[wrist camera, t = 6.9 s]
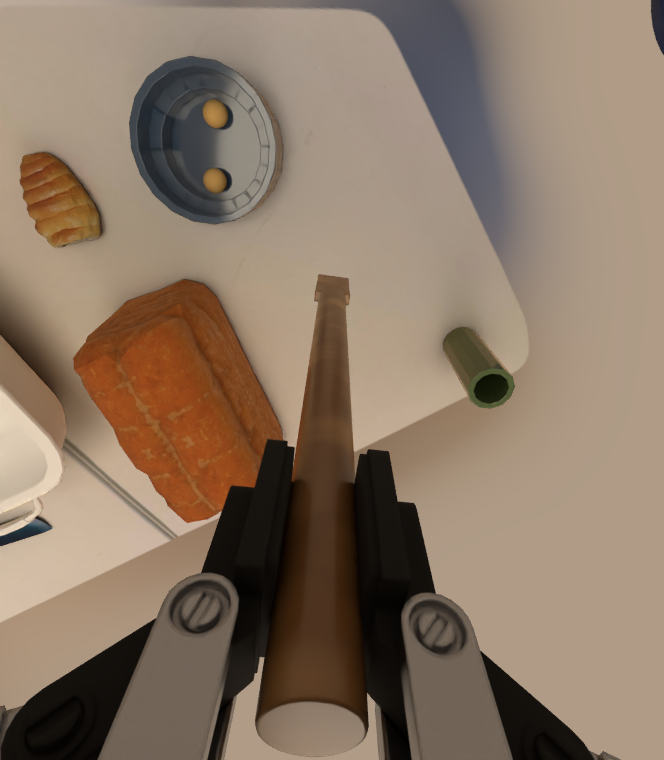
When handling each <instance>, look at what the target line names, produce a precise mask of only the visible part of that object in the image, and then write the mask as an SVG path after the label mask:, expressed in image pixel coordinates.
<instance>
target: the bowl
mask: <svg viewBox="0 0 664 760" xmlns="http://www.w3.org/2000/svg"><path fill="white" fill-rule="evenodd" d="M211 99H216V100H219V101H221V102H222V103H223V104H224V105H225V107H226V108H227V111H228V120H227V123H226V124H225V125H224V126H223V127H221V128H213V127H211V126H210V125H208V124H207V122H206V121H205V119H204V117H203V107H204V105H205V103H206V102H207V101H209V100H211ZM129 126H130V139H131V149H132V152H133V155H134V158H135V161H136V164H137V167H138V169H139V172H140V175H141V176H142V178H143V179H144V181H145V182H146V184H147V185H148V187H149V188H150V190H151V191H152V193H153V194H154V195H155V196H156V197H157V198H158V199H159V200H160V201H161V202H162V203H163V204H165V205H166V206H167V207H168V208H169V209H170V210H171V211H173V212H175V213H177V214H179V215H181V216H183V217H185V218H187V219H189V220H191V221H194V222H201V223H208V224H220V223H225V222H230V221H235V220H237V219H239V218H241V217H243V216H244V215H246V214H248V213H250V212H251V211H253V210H255V209H256V208H258V207H259V206H261V205H262V204H263V203H264V202H265V201H266V199H267V198H268V197H269V196H270V194H271V193H272V192H273V191H274V189H275V186H276V184H277V181H278V179H279V176H280V173H281V171H282V160H283V143H282V138H281V133H280V128H279V124H278V122H277V120H276V118H275V116H274V114H273V112H272V110H271V108H270V106H269V104H268V102H267V101H266V100H265V99H264V97H263V96H262V95H261V94H260V93H259V92H258V91H257V90H256V89H255V88H254V87H253V86H252V85H251V84H250V83H249V82H248V81H247V80H246V79H245V78H244V77H243V76H242V75H240V74H239V73H238V72H236V71H235V70H233V69H231V68H229V67H227V66H226V65H224V64H222V63H220V62H218V61H217V60H213V59H207V58H200V57H194V56H188V57H184V58H180V59H175V60H171V61H168V62H166V63H164V64H163V65H162V66H160V67H159V68H158V69H156V70H155V71H154V72H152V73H151V74H150V75H148V76H147V78H146V79H145V81H144V83H143V84H142V86H141V88H140V89H139V91H138V93H137V94H136V96H135V98H134V103H133V107H132V112H131V116H130V121H129ZM211 168H216V169H219V170H221V171H222V172H223V173H224V174H225V176H226V179H227V186H226V188H225V190H224V191H223V192H221V193H217V194H216V193H212V192H210V191H208V190H207V189H206V187H205V185H204V182H203V177H204V174H205V172H206V171H207V170H209V169H211Z"/></svg>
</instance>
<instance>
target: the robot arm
mask: <svg viewBox="0 0 664 760" xmlns="http://www.w3.org/2000/svg"><path fill="white" fill-rule="evenodd" d="M287 443H288V442H287V441H283V440H273V439H267V442H266V445H265V449H264V453H263V457H262V461H261V465H260V468H259V472H258V476H257V480H256V484H255V487H245V486H235V485H232V486H231V487H230V489H229V492H228V495H227V498H226V501H225V504H224V507H223V510H222V513H221V516H220V519H219V522H218V524H217V528H216V531H215V533H214V536H213V540H212V542H211V545H210V548H209V551H208V554H207V557H206V560H205V563H204V566H203V569H202V572H201V573H199V574H196V575H192V576H189V577H187V578H185V579H184V580H182V581H180V582H179V583H177V584H176V585H175V586H174V587H173V588H172V589H171V590H170V591H169V593H168V595H167V596H166V598H165V600H164V601H163V604H162V606H161V608H160V611H159V613H158V616H157V618H156V619H154V620H152V621H151V622H149V623H147V624H146V625H144V626H143V627H141V628H139V629H138V630H136V631H135V632H133V633H132V634H130V635H128V636H127V637H125V638H124V639H122V640H120V641H119V642H117V643H116V644H114V645H112V646H111V647H109V648H108V649H106V650H104V651H103V652H101V653H100V654H98V655H96V656H95V657H93V658H92V659H90V660H88V661H87V662H85V663H84V664H82V665H80V666H79V667H77V668H76V669H74V670H72V671H71V672H69V673H68V674H66V675H64V676H63V677H61V678H60V679H58V680H56V681H55V682H53V683H52V684H50V685H48V686H47V687H45V688H44V689H42V690H41V691H40V692H38V693H37V694H36V695H35V696H33V697H32V698H31V699H29V700H28V701H27V702H26V704H25V705H24V706H20V707H17V708H14V709H10V710H6V708H5V706H0V760H224V757H225V752H226V746H227V742H228V737H229V732H230V727H231V722H232V717H233V712H234V708H235V703H236V695H237V694H238V693H239V692H241V691H242V690H243V689H244V688H245V687H246V686H248V685H249V684H250V683H251V682H252V681H253V680H254V674H255V673H257V670H258V664H259V657H265V651H266V645H267V638H268V632H269V625H270V619H271V616H272V610H273V604H274V597H275V590H276V584H277V577H278V570H279V564H280V557H281V550H282V543H283V537H284V530H285V523H286V517H287V510H288V503H289V497H290V490H291V483H292V472H293V461H294V450H295V447H289V446H287ZM354 490H355V510H356V530H357V550H358V570H359V590H360V610H361V617H362V620H363V633H364V651H365V669H366V687H367V693H368V694H369V695H370V697H371V698H372V699H373V700H374V701H375V702H376V705H375V714H376V726H377V739H378V753H379V760H620V759H618V758H616V757H614V756H612V755H610V754H608V753H606V752H604V751H603V752H602V753H601V754H600V755H597V754H595V753H593V752H591V751H589V750H588V749H587V747H586V746H585V744H584V743H583V742H582V741H581V739H580V738H579V737H578V736H577V735H576V734H575V733H574V732H573V731H572V730H571V729H570V728H569V727H568V726H566V725H565V724H564V723H563V722H562V721H561V720H559V719H558V718H557V717H556V716H555V715H554V714H552V713H551V712H550V711H549V710H548V709H547V708H546V707H544V706H543V705H542V704H541V703H540V702H539V701H538V700H536V699H535V698H534V697H533V696H532V695H531V694H530V693H528V692H527V691H526V690H525V689H524V688H523V687H522V686H520V685H519V684H518V683H517V682H516V681H515V680H513V679H512V678H511V677H510V676H509V675H508V674H507V673H505V672H504V671H503V670H502V669H501V668H500V667H498V666H497V665H496V664H495V663H494V662H493V661H492V660H491V659H489V658H488V657H487V656H486V655H485V654H484V653H482V652H481V651H480V649H479V646H478V642H477V639H476V636H475V633H474V629H473V627H472V625H471V622H470V620H469V618H468V616H467V615H466V614H465V613H464V611H463V610H462V609H461V608H460V607H459V606H458V605H457V604H456V603H454V602H453V601H452V600H450V599H448V598H446V597H444V596H442V595H439V594H436V592H435V589H434V584H433V580H432V575H431V571H430V566H429V561H428V557H427V553H426V548H425V544H424V539H423V535H422V530H421V526H420V522H419V517H418V513H417V509H416V506H415V504H414V503H407V502H398V501H397V496H396V490H395V484H394V478H393V472H392V467H391V461H390V455H389V452H388V451H380V450H371V449H369V450H368V451H367V454H360V456H359V461H358V466H357V472H356V477H355V483H354Z"/></svg>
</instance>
